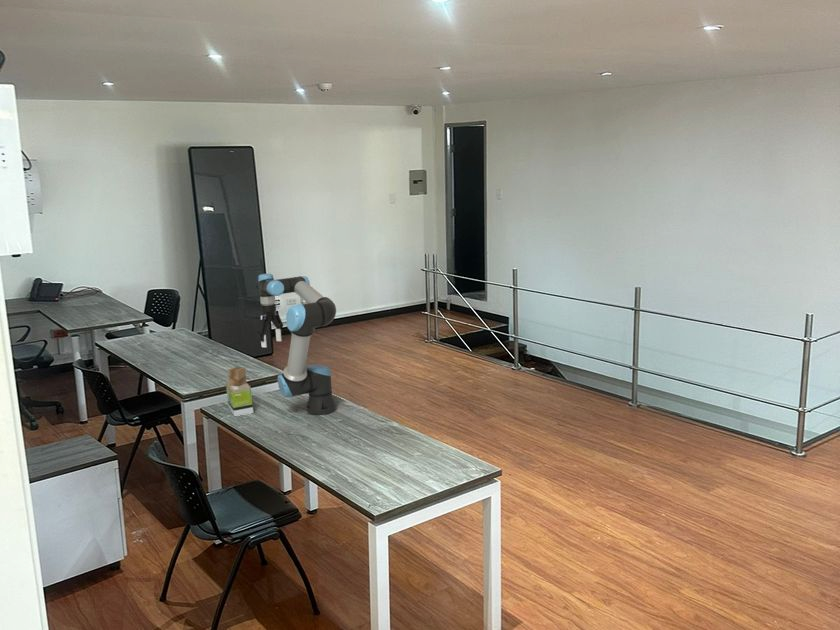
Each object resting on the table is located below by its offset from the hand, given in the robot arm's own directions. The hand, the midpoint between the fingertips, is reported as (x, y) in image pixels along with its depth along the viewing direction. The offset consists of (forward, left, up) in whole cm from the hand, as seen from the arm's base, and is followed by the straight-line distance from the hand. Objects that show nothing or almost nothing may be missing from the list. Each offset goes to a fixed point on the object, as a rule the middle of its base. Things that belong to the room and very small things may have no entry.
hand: (271, 344), depth 393 cm
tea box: (+10, +18, -32) cm, 38 cm away
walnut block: (+10, +18, -17) cm, 27 cm away
